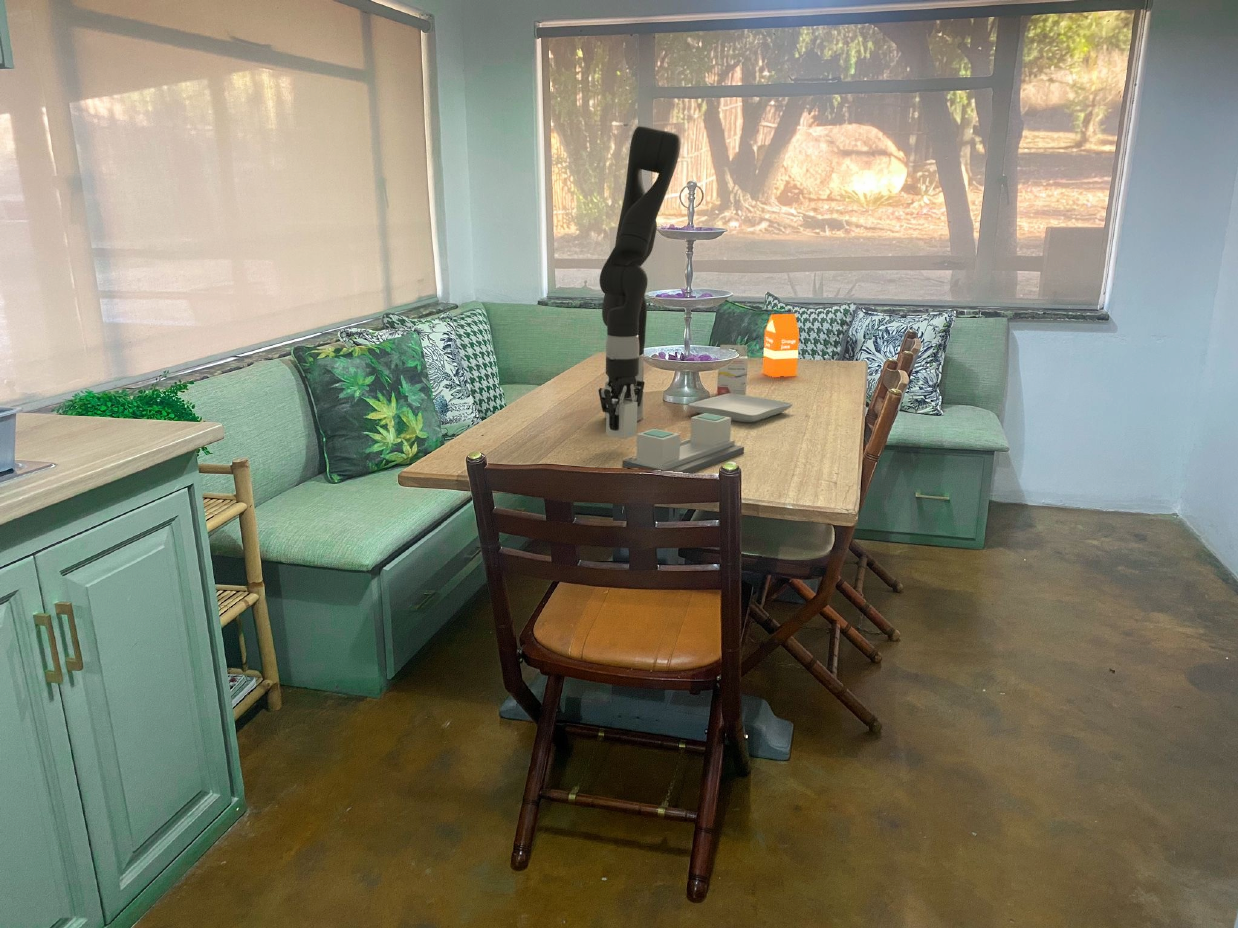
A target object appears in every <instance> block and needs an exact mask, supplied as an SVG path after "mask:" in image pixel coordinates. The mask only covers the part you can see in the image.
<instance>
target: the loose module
mask: <svg viewBox="0 0 1238 928" xmlns="http://www.w3.org/2000/svg"><path fill="white" fill-rule="evenodd" d="M617 400H618V399H614V401H617ZM606 405H607V404H606ZM607 407H608V405H607ZM613 409H615V404H613ZM618 415H619V430H617V431H614V430H611V429H610V427H609V413H606V417H605V420H606V421H605V435H606V436H608V437H609V436H610V437H612V438H617V439H620V440H627V439H630V438H633V437H637V434H638V433H637V431H638V421H637V402H635V401H633V402H632V401H627V400H623V404H621V405H620V406H619V414H618Z"/></svg>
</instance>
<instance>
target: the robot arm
mask: <svg viewBox="0 0 1238 928" xmlns="http://www.w3.org/2000/svg"><path fill="white" fill-rule="evenodd" d="M631 136H632V137H631V140H630V145H629V146H630V147H629V151H628V152H629V153H628V162H627V171H626V180H625V181H626V182H625V187H624V195H623V201H622V205H621V210H620V215H619V219H618V225H617V231H616V238H615V244H614V247H613V249H612V251H611V253H610V255H608V258H607V260H606V261H605V263H604V264H603V267H602V268H601V270H600V275H599V286H600V289H601V292H603V294H604V296H603V301H602V308H601V317H602V321H603V324H604V325H605V326H606V330H607V331H606V334H607V335H606V342H605V375H606V376H607V379H608V380H607V381H605V385H604V387H599V389H598V396H599V400H600V405H601V410H602V412H603V413H605V414H604V417H605V418H606V413H609V427H610V429H611V430H614V431H617V430H619V415H618V414H619V406H620V405H621V404H623V400H627V401H632V402H633V401H635V402H637V422H638V421H641V420H643V418H644V417H643V416H644V390H645V389H644V388H645V381H644V360H645V358H644V355H645V354H644V353H645V344H646V331H647V315H648V314H647V313H648V308H647V307H648V305H647V298H646V296H645V295H646V291H647V288H648V276H647V272H646V270H645V269H644V267H642V265H644V263H645V262H646V261H647V260H648V258H649V257H650V256H651V254H652V251H653V250H654V249H653V248H654V245H655V240H656V233H657V230H658V225H657V218H658V215H659V212H660V210H661V207H662V205H663V202H664V200H665V198H666V195H667V192H668V190H669V188H670V185H671V182H672V179H673V176H674V173H675V170H676V167H677V164H678V160H679V157H680V153H681V143H682V142H681V136H680V135H679V134H678V133H675V132H671V131H668V130H665V129H661V128H660V129H659V128H656V127H655V128H654V127H651V126H646V125H639V126H637V127H636V128H635V129H634V131H633V134H632V135H631ZM643 171H647V172H651V173H655V174H658V175H657V177H656V179H655V181H654V183H653V184H652V186H651V187H650V188H649V189H648V190H647V191H645V188H644V187H645V186H644V182H643ZM614 399H618V400H617V401H614ZM606 404H607V405H608V407H607V405H606ZM613 404H615V409H613Z"/></svg>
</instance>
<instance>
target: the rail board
mask: <svg viewBox="0 0 1238 928" xmlns="http://www.w3.org/2000/svg"><path fill="white" fill-rule="evenodd" d="M731 427H732V420H731V418H730V417H725V416H719V415H714V414H708V413H705V414H702V413H700V414H699V415H695V416H692V417H690V437H689V438H687V439H683V440H681V433H676V432H671V431H668V430H667V431H666V430H661V429H656V428H653V429H648V430H647V431H646V430H645V431H643V432H639V433H637V436H636V455H635V456H632V457H629V458H625V459H623V460H622V462H621V463H622V466H621V467H622V468H624V469H628V468H638V469H650V470H661V471H673V472H683V473H691V474H693V473H695V472H699V471H701V470H703V469H706V468H709V467H711V466H714V465H716V464H720V463H722V462H725V461H727V460H729V459H732V458H734V457H738V456H740V455H742V454H744V453H745V446H743V445H737V444H735V442H736V440H735V439H731V432H732V431H731V430H732V429H731Z"/></svg>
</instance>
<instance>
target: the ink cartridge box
mask: <svg viewBox="0 0 1238 928" xmlns="http://www.w3.org/2000/svg"><path fill="white" fill-rule="evenodd" d="M720 349H726V350H729V351H730V350H732V349H735V350H733V351H734V352H737V353H738V354H739V358H736V360H734V361H733V362H732V363H731V364H729V365H728V366H726V367H724V368H722V369H719V370H718V369H717V389H716V393H717V394H716V396H720V395H724V394H728V393H731V394H739V395H746V396H747V382H748V381H747V379H748V362H749V361H748V358H749V357H748V353H747V352H748V346H747V344H746V345H741V344H740V345H738V344H720V346H719V350H720Z"/></svg>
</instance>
